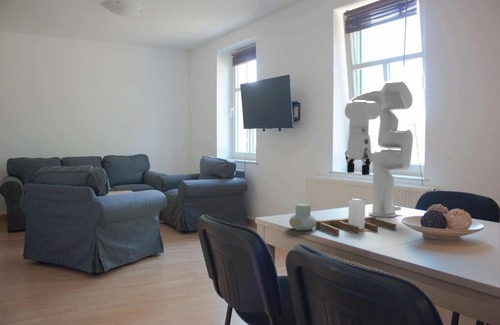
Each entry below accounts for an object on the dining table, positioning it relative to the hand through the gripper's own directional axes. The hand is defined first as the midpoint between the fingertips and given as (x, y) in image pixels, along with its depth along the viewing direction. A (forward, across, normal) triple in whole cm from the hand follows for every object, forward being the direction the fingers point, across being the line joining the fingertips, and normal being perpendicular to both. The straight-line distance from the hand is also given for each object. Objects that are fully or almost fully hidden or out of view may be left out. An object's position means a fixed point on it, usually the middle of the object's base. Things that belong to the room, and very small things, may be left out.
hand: (357, 173), depth 165 cm
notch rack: (+23, -1, +1) cm, 23 cm away
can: (+22, -1, +1) cm, 23 cm away
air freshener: (+23, +6, +22) cm, 32 cm away
